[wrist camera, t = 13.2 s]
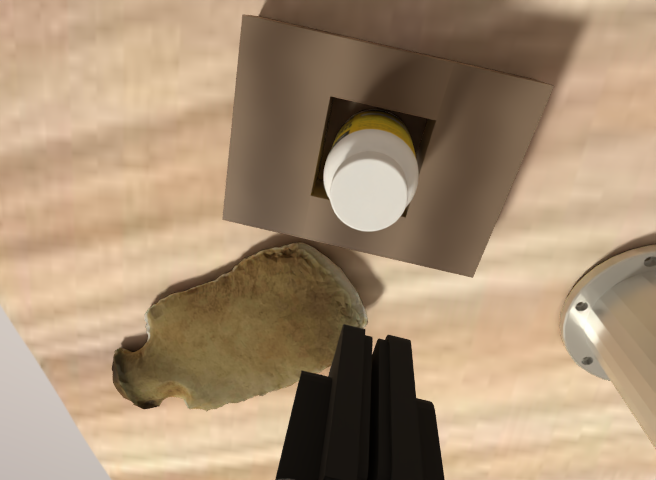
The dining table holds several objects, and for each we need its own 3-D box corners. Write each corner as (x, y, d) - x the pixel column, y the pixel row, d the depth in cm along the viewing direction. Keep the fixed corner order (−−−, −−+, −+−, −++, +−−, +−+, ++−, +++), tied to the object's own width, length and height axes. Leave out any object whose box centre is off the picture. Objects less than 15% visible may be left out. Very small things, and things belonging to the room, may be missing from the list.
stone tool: (168, 415, 44) (387, 330, 37) (146, 445, 40) (385, 357, 33) (102, 324, 42) (322, 213, 34) (72, 347, 38) (311, 228, 31)
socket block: (534, 79, 27) (554, 85, 24) (464, 254, 33) (472, 277, 30) (258, 16, 27) (242, 14, 24) (237, 201, 33) (222, 219, 30)
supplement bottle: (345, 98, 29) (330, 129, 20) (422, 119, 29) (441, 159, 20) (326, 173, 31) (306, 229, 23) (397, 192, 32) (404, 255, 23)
